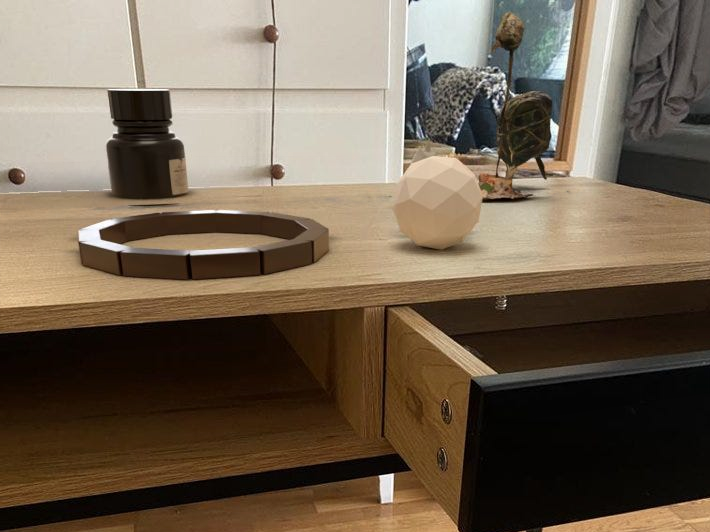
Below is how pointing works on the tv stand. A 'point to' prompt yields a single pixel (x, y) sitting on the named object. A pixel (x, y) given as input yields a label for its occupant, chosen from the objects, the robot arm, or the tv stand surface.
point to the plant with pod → (517, 122)
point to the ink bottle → (144, 147)
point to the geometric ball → (437, 202)
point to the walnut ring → (108, 255)
